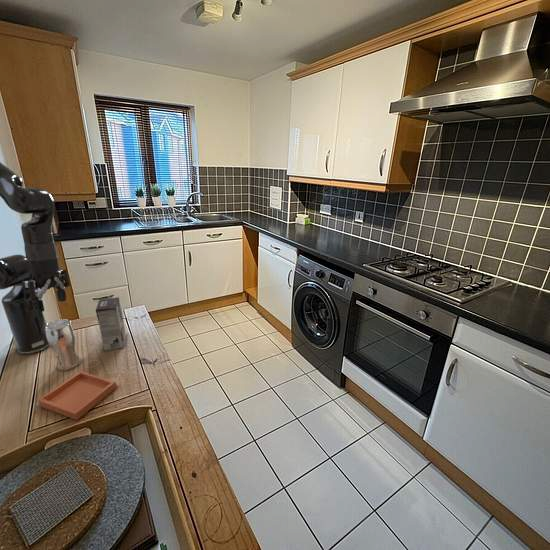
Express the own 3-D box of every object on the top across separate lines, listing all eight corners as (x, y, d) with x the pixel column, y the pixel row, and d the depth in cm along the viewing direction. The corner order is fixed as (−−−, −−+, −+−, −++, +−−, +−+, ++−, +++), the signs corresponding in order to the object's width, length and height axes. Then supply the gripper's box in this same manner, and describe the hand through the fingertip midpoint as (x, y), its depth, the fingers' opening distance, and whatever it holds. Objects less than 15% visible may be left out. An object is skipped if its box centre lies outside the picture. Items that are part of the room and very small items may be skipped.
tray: (39, 406, 78) (37, 400, 77) (82, 376, 89) (80, 370, 89) (77, 420, 74) (75, 414, 73) (116, 387, 85) (115, 381, 85)
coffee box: (107, 337, 109) (99, 298, 104) (126, 334, 112) (119, 296, 106) (103, 351, 102) (94, 310, 96) (124, 347, 104) (116, 307, 98)
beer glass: (68, 372, 91) (57, 331, 85) (50, 369, 92) (37, 328, 87) (86, 359, 97) (76, 320, 92) (68, 356, 98) (58, 317, 93)
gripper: (49, 251, 95) (58, 297, 100) (7, 261, 81) (20, 314, 86) (71, 252, 94) (79, 298, 99) (33, 263, 81) (43, 316, 85)
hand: (51, 306), depth 92 cm, fingers open, 8 cm apart
